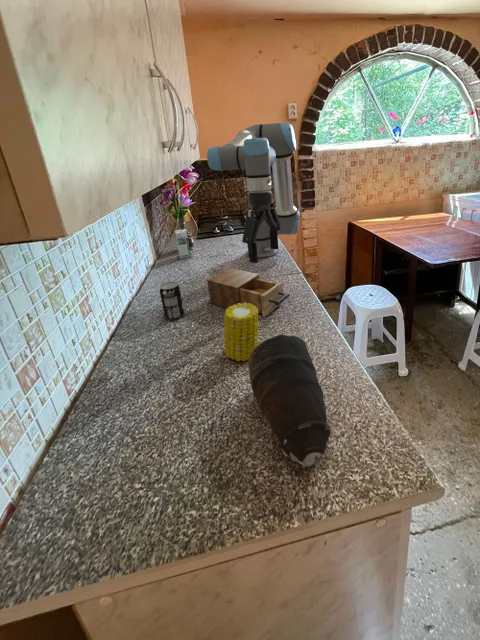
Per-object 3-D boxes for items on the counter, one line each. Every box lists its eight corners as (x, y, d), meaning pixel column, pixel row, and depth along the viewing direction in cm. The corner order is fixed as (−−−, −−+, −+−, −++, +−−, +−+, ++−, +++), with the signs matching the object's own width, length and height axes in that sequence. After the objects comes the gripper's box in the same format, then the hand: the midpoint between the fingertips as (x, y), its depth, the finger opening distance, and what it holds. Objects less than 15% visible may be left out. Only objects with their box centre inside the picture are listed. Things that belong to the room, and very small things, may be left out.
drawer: (293, 304, 112) (292, 285, 109) (275, 319, 103) (274, 299, 100) (254, 294, 121) (252, 275, 118) (235, 307, 112) (232, 288, 109)
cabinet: (260, 297, 120) (258, 274, 117) (239, 312, 110) (237, 287, 107) (232, 289, 128) (229, 267, 124) (210, 302, 118) (206, 279, 114)
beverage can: (176, 309, 114) (170, 279, 110) (188, 313, 111) (183, 283, 107) (161, 317, 109) (154, 287, 105) (174, 322, 106) (167, 290, 102)
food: (223, 352, 92) (257, 346, 95) (228, 370, 81) (266, 362, 84) (218, 302, 90) (253, 297, 93) (222, 314, 79) (261, 307, 82)
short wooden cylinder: (258, 296, 117) (257, 287, 116) (272, 299, 113) (271, 291, 112) (247, 303, 112) (246, 294, 110) (261, 307, 108) (261, 298, 107)
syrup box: (179, 259, 165) (175, 232, 160) (179, 255, 170) (174, 230, 165) (191, 257, 166) (186, 231, 161) (190, 253, 172) (185, 228, 167)
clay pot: (276, 451, 48) (248, 336, 68) (266, 499, 55) (243, 382, 76) (360, 432, 52) (310, 329, 73) (341, 479, 60) (300, 373, 80)
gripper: (247, 198, 84) (254, 270, 91) (288, 185, 105) (291, 244, 112) (225, 197, 87) (233, 267, 95) (269, 185, 108) (273, 242, 115)
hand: (264, 255), depth 103 cm, fingers open, 13 cm apart
